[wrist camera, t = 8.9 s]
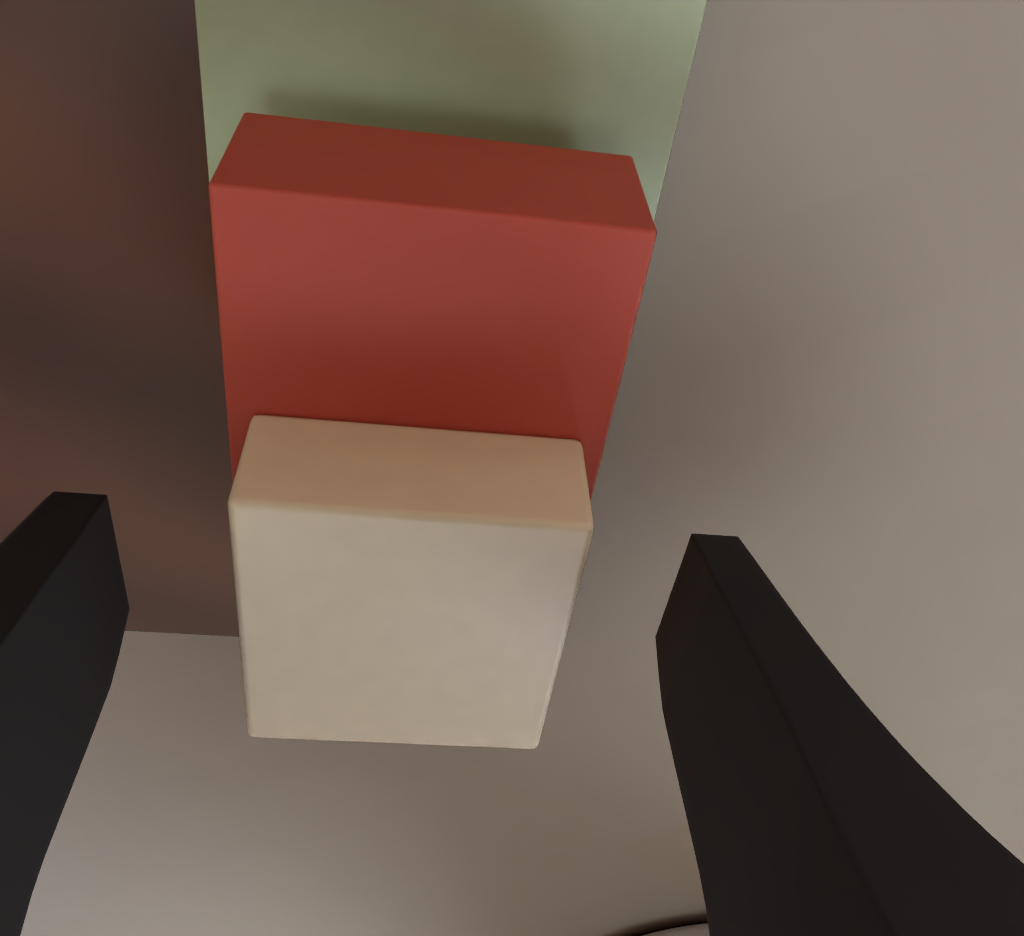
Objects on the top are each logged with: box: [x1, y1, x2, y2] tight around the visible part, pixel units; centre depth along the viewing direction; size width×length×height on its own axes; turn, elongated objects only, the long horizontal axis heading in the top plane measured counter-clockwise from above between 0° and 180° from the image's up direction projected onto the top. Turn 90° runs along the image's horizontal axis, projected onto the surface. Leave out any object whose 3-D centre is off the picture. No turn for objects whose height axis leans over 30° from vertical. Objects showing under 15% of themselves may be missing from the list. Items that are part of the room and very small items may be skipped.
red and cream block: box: [208, 112, 657, 749], centre depth 13 cm, size 9×5×5 cm, turn 173°
